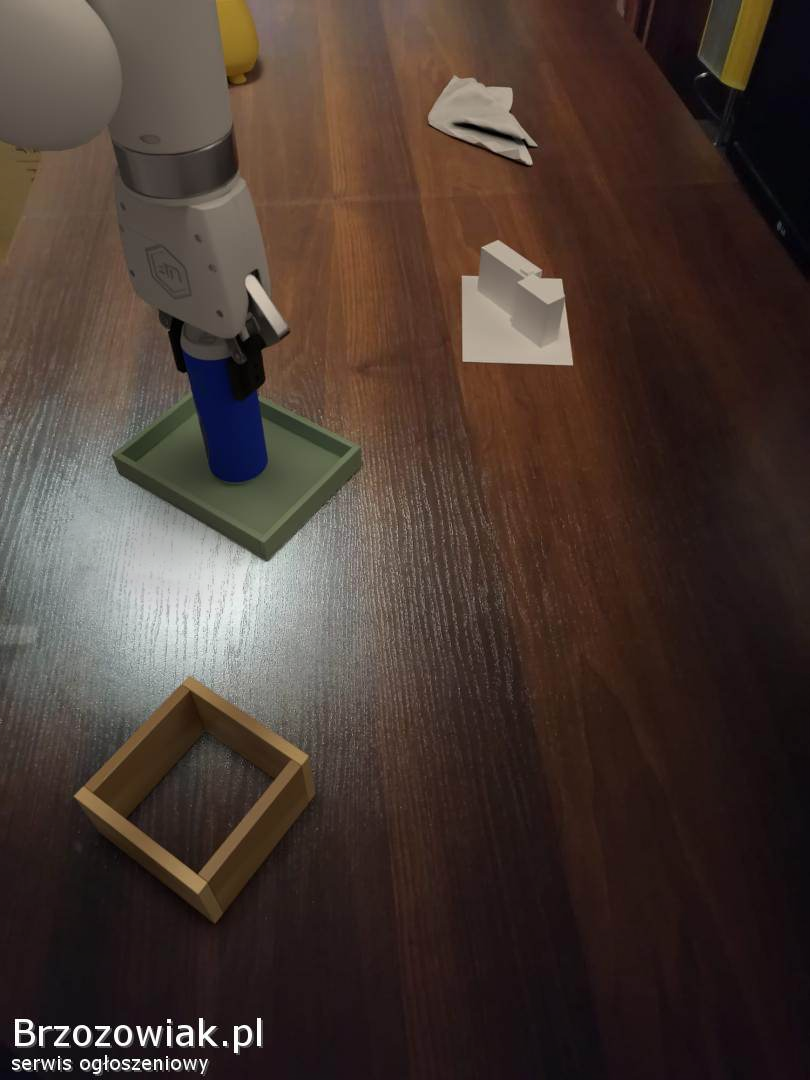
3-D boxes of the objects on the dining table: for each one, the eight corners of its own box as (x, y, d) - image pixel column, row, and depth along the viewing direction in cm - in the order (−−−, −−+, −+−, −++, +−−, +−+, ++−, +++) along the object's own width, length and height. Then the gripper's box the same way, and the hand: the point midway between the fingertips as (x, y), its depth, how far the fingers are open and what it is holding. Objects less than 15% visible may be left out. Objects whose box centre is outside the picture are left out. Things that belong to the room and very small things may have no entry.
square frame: (99, 832, 56) (73, 796, 52) (204, 717, 62) (189, 674, 57) (215, 924, 53) (197, 894, 48) (316, 793, 58) (309, 755, 54)
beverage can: (221, 441, 78) (192, 303, 67) (275, 450, 78) (255, 312, 66) (201, 482, 75) (167, 344, 64) (258, 491, 75) (234, 353, 63)
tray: (118, 474, 76) (111, 454, 75) (218, 392, 83) (214, 372, 81) (267, 561, 71) (263, 542, 69) (362, 466, 77) (361, 446, 76)
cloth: (417, 80, 127) (417, 64, 125) (509, 77, 128) (511, 61, 126) (440, 170, 110) (441, 153, 109) (545, 166, 111) (548, 149, 110)
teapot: (257, 40, 135) (247, -52, 125) (265, 97, 123) (254, 0, 113) (170, 44, 133) (153, -49, 124) (169, 103, 121) (150, 5, 111)
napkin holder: (459, 275, 96) (463, 229, 92) (561, 278, 96) (569, 231, 92) (462, 362, 87) (466, 315, 82) (575, 365, 87) (585, 318, 82)
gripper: (39, 140, 55) (110, 362, 70) (241, 224, 50) (274, 448, 64) (124, 96, 59) (176, 315, 73) (321, 170, 53) (335, 392, 68)
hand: (221, 375), depth 68 cm, fingers closed on beverage can, 5 cm apart
